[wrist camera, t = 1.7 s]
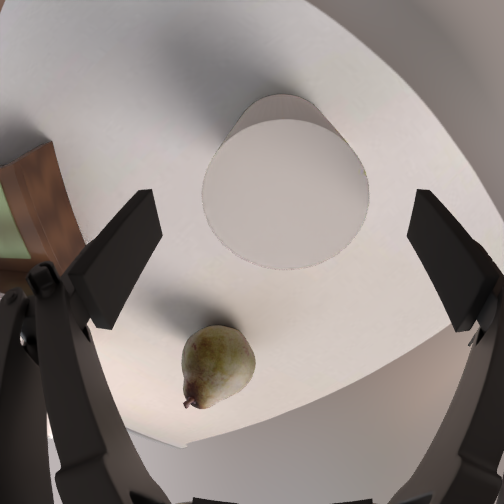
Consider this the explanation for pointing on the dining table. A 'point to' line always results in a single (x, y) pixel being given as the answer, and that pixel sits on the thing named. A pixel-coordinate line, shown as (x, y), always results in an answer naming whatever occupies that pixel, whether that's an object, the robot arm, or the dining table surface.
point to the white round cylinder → (285, 186)
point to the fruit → (215, 365)
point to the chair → (35, 218)
